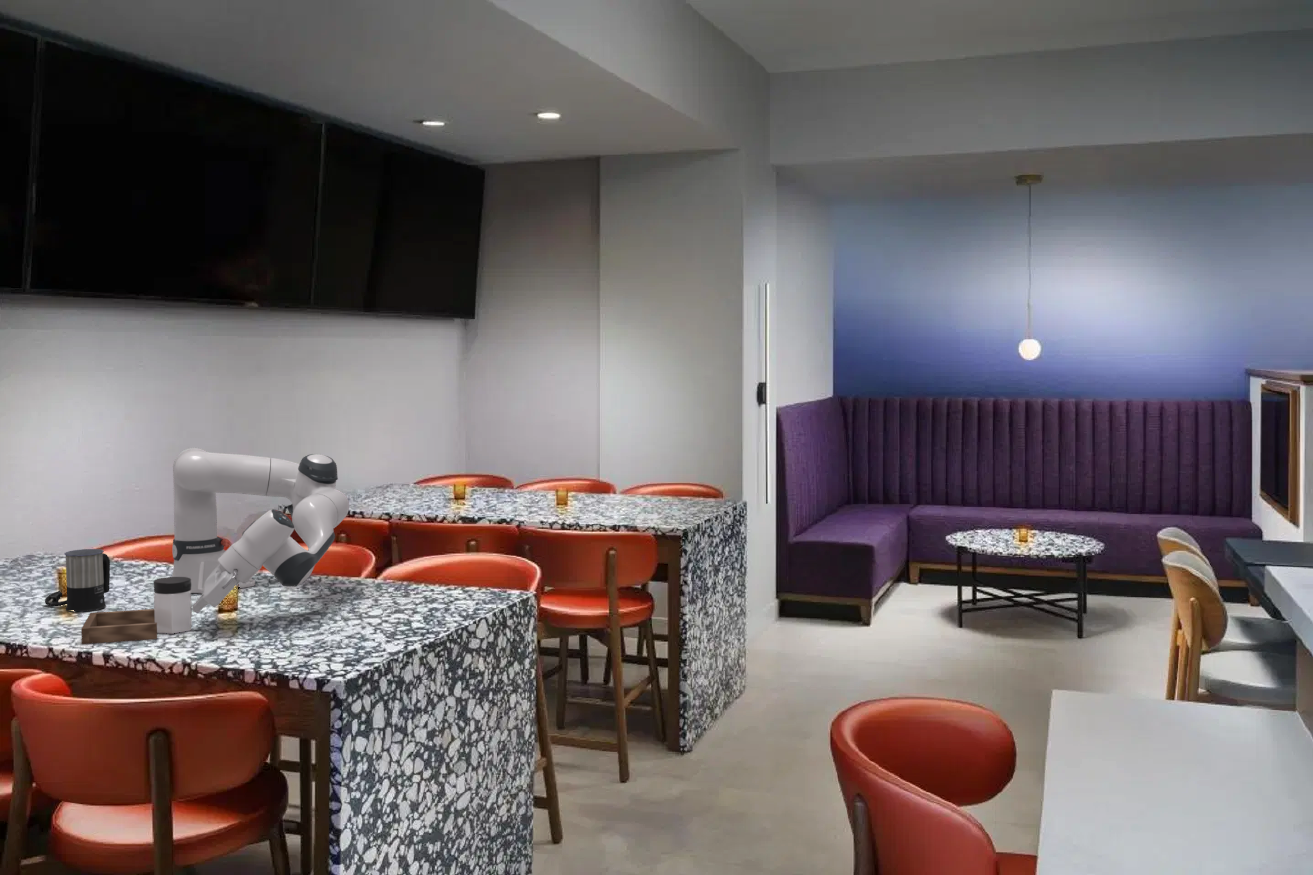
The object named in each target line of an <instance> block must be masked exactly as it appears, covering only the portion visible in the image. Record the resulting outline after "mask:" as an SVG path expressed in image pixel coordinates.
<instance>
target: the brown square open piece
mask: <svg viewBox="0 0 1313 875" xmlns="http://www.w3.org/2000/svg"><path fill="white" fill-rule="evenodd" d="M80 632H81V633H80V634H81V645H89V644H91V645H92V644H104V642H106V643H117V642H119V643H121V642H130V641H131V642H132V641H143V640H144V641H147V640H157V639H158V633H157V623H155V614H154V608H149V609H148V608H147V609H145V608H144V609H134V610H133V609H132V610H116V611H101V612H99V611H98V612H90V613H89V615H88V616H87V618H86V620H85V622H84V623H83V625H82V627H81V631H80Z"/></svg>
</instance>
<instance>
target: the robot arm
mask: <svg viewBox="0 0 1313 875" xmlns="http://www.w3.org/2000/svg"><path fill="white" fill-rule="evenodd" d="M172 468H173V469H172V473H173V474H172V477H173V521H174V522H173V524H174V526H173V530H174V531H173V532H174V536H173V537H174V538H173V540H172V559H173V568H172V576H171V577H188V578H190V579H191V594H201V595H200V596H199V598H198V599H197V600H196V601H195V602H194V603H193V604H192V612H194V613H196V614H198V613H200V612H201V611H202V609H203V608H205V607H206V606H208V605H210V606H211V607H213V608H215V607H217V606H218V605H220V604H221V602H222V601H223V600H224V599H225V598H226V597H227V596H229V595H228V594H230V592H231V591H232V590H234V589H233V588H234V586H235V585H236V586H237V585H238V584H239V586H240V588H239V589H244V588H249V587H254V586H256V581H255V579H253V577H254V576H255V575H256V574H257V573H258V572H259V571H260V570H261V569H262V567H264V568H265V569H266V570H267V571H268V572H270V574H271V575H272V576H274V578H275V580H277V581H278V583H280V585H282V586H283V587H290V588H292V587H298V586H300V585H301V584H303V583H304V582H305V581H306V580H307V579H308V578H309V577H310V576H311V574H312V572H313V570H314V569H315V566H316V565H317V564H318V562H320V560H321V559H322V558H323V556H324V555H325V554H326V553H327V551H328V550H329V549H330V547H331V545H332V544H333V542H334V541H335V539H336V534H335V532H334V531H335V530H334V529H335V528H337V526H339V525H340V524H341V522H343V520H344V519H345V518H346V516H347V515H348V513H349V510H350V501H349V498H348V497H347V495H346V494H345V493H343V491H340V490H338V489H336V485H337V480H339V478H338V466H337V463H336V462H335V460H334V459H333V458H332V457H330V456H328V455H324V454H321V453H320V454H319V453H311V454H307V455H305V456H303V457H302V458H301V460H300V463H298V462H295V461H291V460H287V459H283V458H277V457H269V456H268V457H267V456H261V455H259V456H258V455H249V454H241V453H239V454H238V453H237V454H236V453H221V452H208V451H207V450H205V449H203V448H199V447H190V448H189V447H188V448H187V449H184V450H182V451H180V453H179V454H177V455H176V457H175V459H174V460H173V466H172ZM217 494H240V495H251V496H261V497H272V498H274V497H275V498H277V497H278V498H285V499H288V500H289V501H290V502H291V504H289V505H287V506H286V507H287V508H286V509H287V510H288V512H289V513H290V517H291V519H290V518H289V516H287V515H286V514H284V513H283V512H281V511H280V510H278V509H273V508H272V509H269V510H268V511H266V512H265V513H264V514H262V515H261V516H260V517H259V518H257V519H256V520H254V521H253V522H252V523H250V524H249V526H247V528H246V529H244V531H243V532H242V535H241V537H240V538H239V539H238V540H237V541H235V542H233V543H232V544H231V540H229V539H226V538H222V537H219V536H218V524H217V523H218V518H217V517H218V515H217V513H218V512H217V510H218V508H217ZM294 531H295V532H296V533H297V535H298V536H299V537H300V538H301V539H302V541H303V542H304V543H305V545H306V547H307V548H308V550H307V549H305V548H304V547H303V546H302V545H300V544H299V543H298V542H297V541H296V540H295V539H293V537H292V536H291V535H292V534H293V532H294ZM225 547H228V548H227V549H226V550H225V549H224V548H225Z"/></svg>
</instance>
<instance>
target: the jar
mask: <svg viewBox="0 0 1313 875" xmlns="http://www.w3.org/2000/svg"><path fill="white" fill-rule="evenodd" d="M153 592H154V593H153V597H154V598H153V600H154V602H153V604H154V605H153V606H154V608H153V609H154V614H155V623H157V634H166V633H167V634H166V635H168V634H169V635H170V634H172V635H173V634H174V633H175V634H178V633H179V632H180V633H184V632H185V631H186V632H190V631H191V630H192V624H193V623H192V622H193V621H192V620H193V619H192V617H193V616H192V615H193V614H192V613H193V610H192V606H193V602H192V593H191V579H190V578H188V577H172V576H169V577H162V578H157V579H155V580H153ZM180 633H179V634H180Z"/></svg>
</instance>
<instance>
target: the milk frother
mask: <svg viewBox="0 0 1313 875" xmlns="http://www.w3.org/2000/svg"><path fill="white" fill-rule="evenodd" d="M104 551H105V550H103V549H100V548H84V549H73V550H68V551H66V552H64V556H65V572H66V573H65V575H66V576H65V577H66V579H65V580H66V589H67V594H66V600H62V601H60V600H61V597H63V595H62V593H61V592H60V590H58V591H55V592H52V593H50V594H48V595H47V596H46V597H45V599H44V604H45V605H47V606H50V607H62V606H61V605H63V606H66V608H65V610H66V611H67V610H74V611H87V612H93V610H95V611H100V610H101V609H104V608H106V606H107V604H106V599H105V594H106V593H107V594H108V592H110V580H111V575H110V574H111V561H110V556H108V554H106V553H104ZM65 604H67V605H65Z"/></svg>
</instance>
